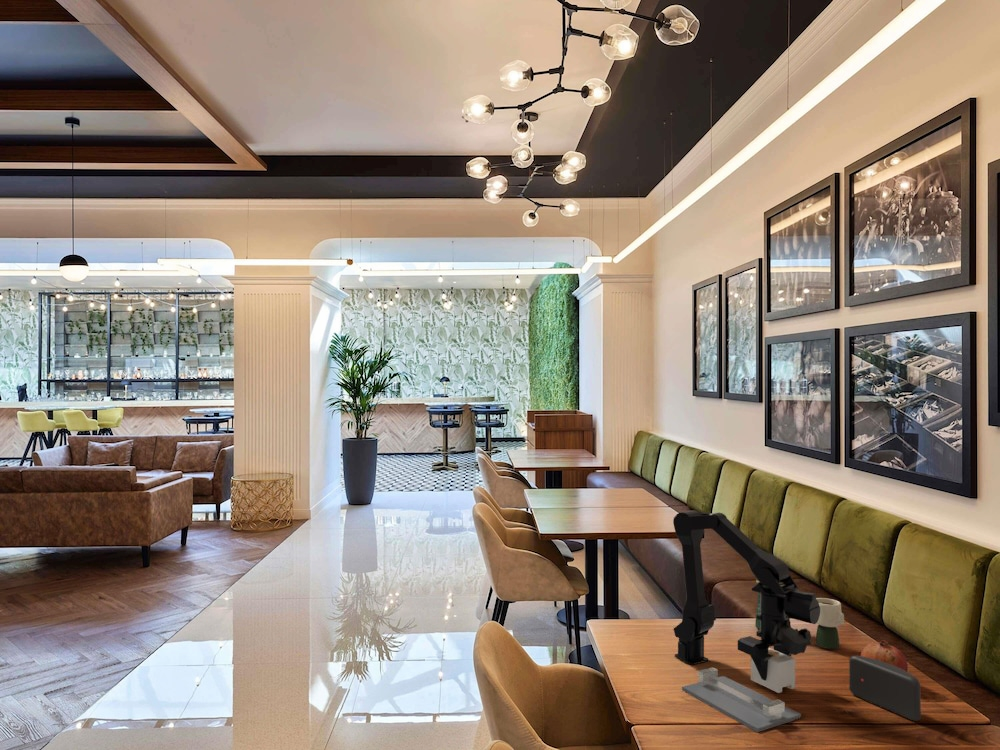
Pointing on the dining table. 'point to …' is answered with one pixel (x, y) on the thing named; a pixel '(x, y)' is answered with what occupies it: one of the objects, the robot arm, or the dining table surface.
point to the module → (776, 672)
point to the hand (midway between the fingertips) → (772, 677)
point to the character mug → (829, 623)
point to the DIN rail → (741, 696)
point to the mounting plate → (738, 705)
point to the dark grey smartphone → (885, 686)
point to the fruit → (885, 654)
